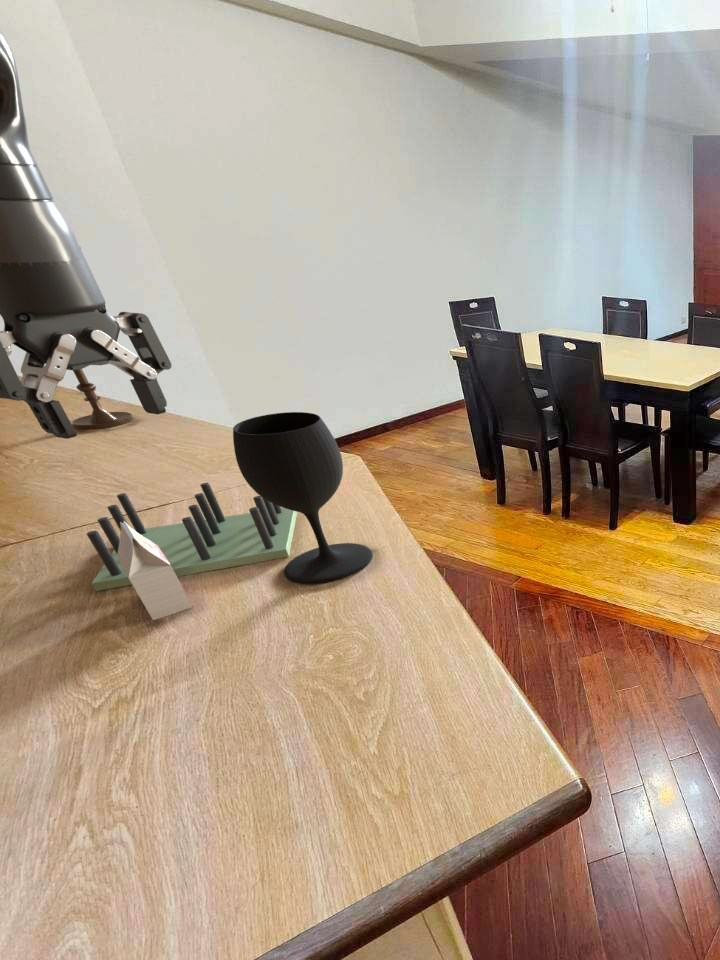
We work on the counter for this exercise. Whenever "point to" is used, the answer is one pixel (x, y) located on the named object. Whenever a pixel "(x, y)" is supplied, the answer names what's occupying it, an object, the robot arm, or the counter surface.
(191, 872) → the counter surface
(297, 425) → the wine glass
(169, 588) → the white milk carton
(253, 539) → the rack
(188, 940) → the counter surface
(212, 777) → the counter surface
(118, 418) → the candlestick
